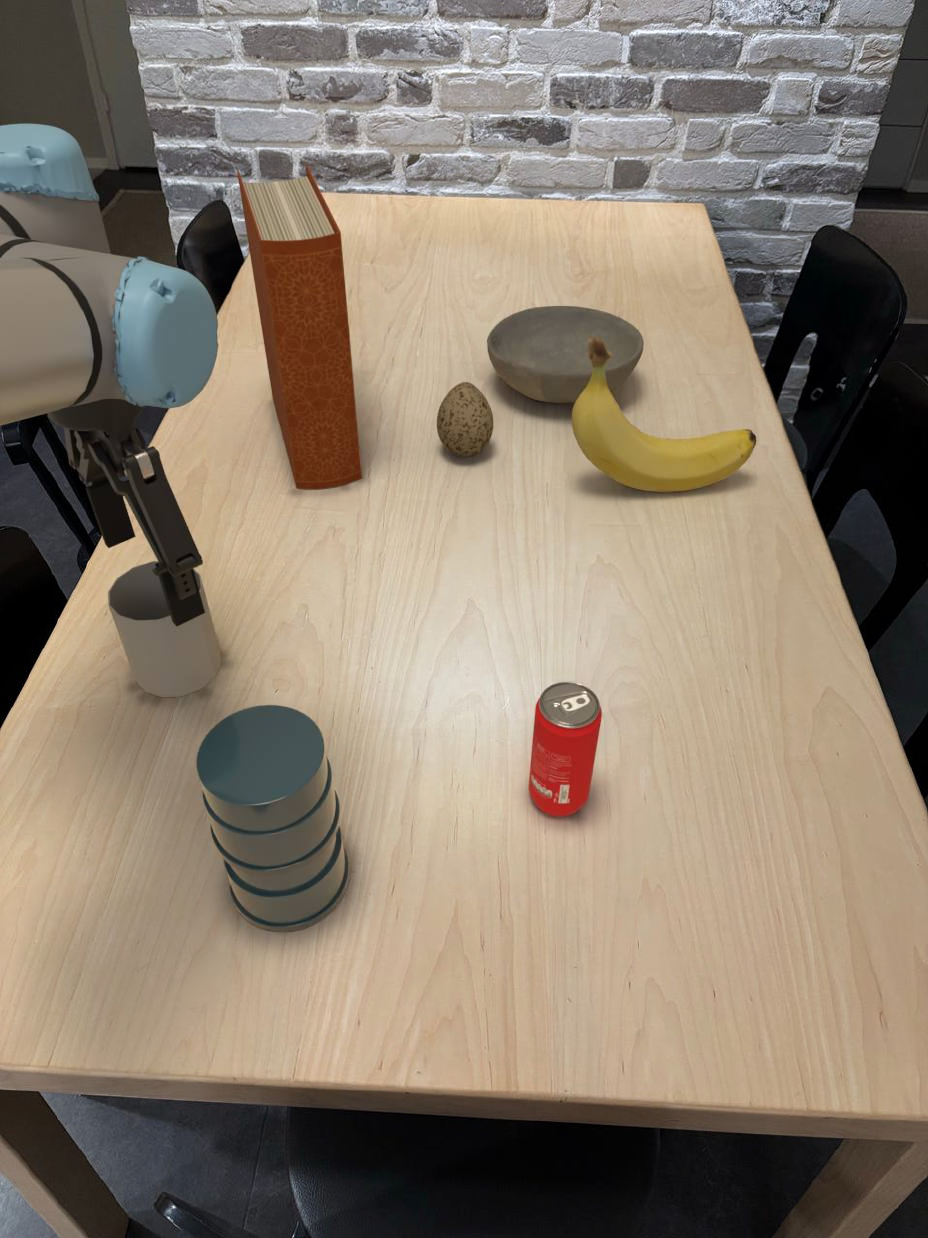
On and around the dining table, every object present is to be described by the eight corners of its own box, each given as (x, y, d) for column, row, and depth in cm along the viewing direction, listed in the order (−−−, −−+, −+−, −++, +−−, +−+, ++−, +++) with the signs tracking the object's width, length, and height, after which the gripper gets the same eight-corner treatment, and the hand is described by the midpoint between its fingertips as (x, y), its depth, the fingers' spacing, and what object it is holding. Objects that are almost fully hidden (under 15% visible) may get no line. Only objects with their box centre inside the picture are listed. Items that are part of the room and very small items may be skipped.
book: (272, 399, 127) (237, 170, 106) (331, 391, 128) (306, 164, 108) (297, 493, 111) (261, 244, 90) (363, 482, 112) (342, 235, 92)
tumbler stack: (270, 956, 68) (234, 836, 57) (209, 870, 73) (165, 745, 62) (372, 884, 72) (357, 759, 61) (308, 808, 78) (283, 680, 67)
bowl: (544, 444, 119) (549, 389, 113) (457, 377, 131) (457, 325, 126) (666, 399, 127) (675, 346, 122) (573, 340, 140) (578, 290, 134)
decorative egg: (501, 461, 116) (504, 391, 109) (448, 473, 114) (448, 402, 107) (479, 433, 121) (481, 364, 114) (429, 444, 119) (427, 374, 112)
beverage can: (517, 783, 80) (524, 691, 71) (569, 763, 81) (582, 671, 73) (545, 829, 76) (556, 738, 68) (599, 808, 78) (615, 716, 70)
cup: (119, 663, 90) (91, 587, 83) (192, 624, 94) (172, 548, 87) (162, 711, 85) (136, 635, 79) (237, 668, 90) (219, 592, 83)
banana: (737, 467, 115) (775, 317, 101) (752, 494, 111) (794, 341, 97) (561, 477, 113) (575, 325, 100) (569, 505, 109) (586, 350, 95)
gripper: (213, 412, 62) (261, 633, 77) (67, 290, 76) (131, 497, 91) (109, 452, 59) (180, 675, 73) (-24, 316, 73) (58, 527, 87)
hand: (153, 577), depth 82 cm, fingers open, 13 cm apart
